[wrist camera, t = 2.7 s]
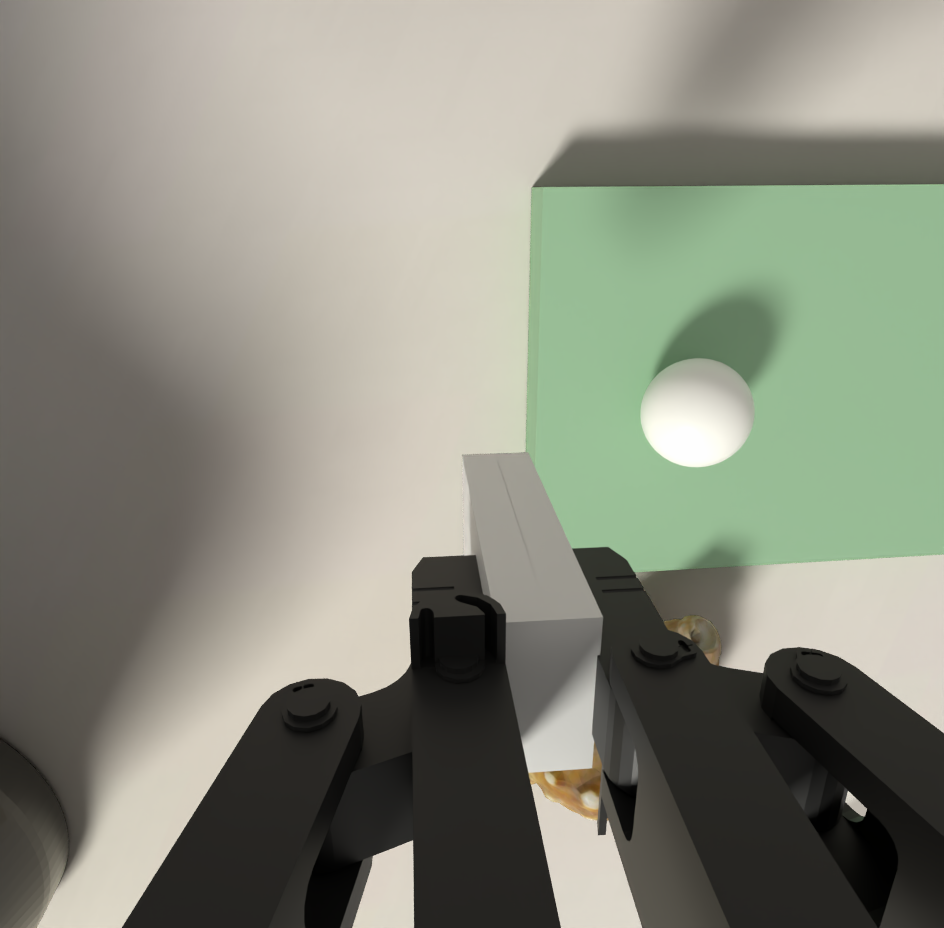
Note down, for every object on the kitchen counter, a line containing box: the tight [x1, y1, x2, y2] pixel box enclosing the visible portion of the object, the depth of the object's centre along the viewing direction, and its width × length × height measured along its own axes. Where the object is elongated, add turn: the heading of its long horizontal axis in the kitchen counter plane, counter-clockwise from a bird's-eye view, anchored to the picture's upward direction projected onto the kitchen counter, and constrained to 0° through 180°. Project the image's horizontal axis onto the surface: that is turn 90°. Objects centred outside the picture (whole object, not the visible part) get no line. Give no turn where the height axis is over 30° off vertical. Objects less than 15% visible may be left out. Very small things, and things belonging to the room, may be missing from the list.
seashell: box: [529, 615, 721, 821], centre depth 29 cm, size 9×8×10 cm
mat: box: [526, 184, 944, 572], centre depth 27 cm, size 28×14×2 cm, turn 90°
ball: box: [640, 358, 755, 467], centre depth 23 cm, size 4×4×4 cm
